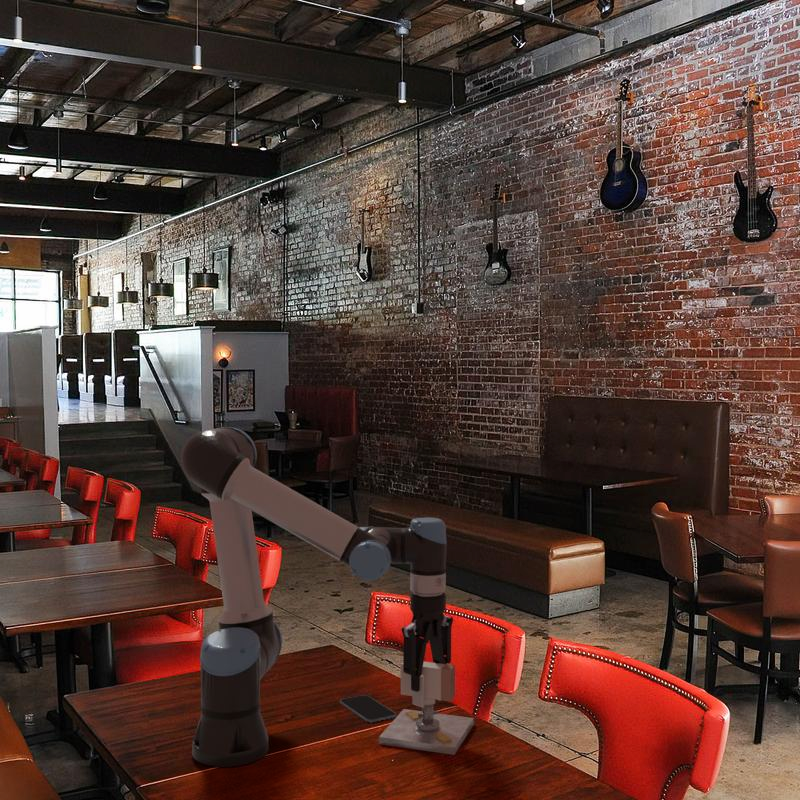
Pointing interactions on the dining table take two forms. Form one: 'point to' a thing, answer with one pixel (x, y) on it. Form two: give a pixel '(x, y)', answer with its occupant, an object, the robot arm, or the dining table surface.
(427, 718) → the socket
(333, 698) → the dining table surface
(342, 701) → the smartphone
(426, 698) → the grey rectangular block
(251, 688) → the robot arm
